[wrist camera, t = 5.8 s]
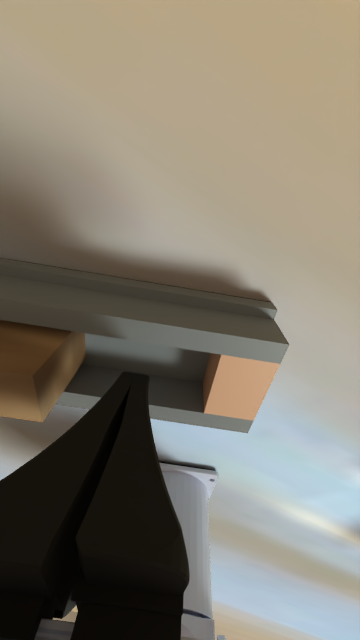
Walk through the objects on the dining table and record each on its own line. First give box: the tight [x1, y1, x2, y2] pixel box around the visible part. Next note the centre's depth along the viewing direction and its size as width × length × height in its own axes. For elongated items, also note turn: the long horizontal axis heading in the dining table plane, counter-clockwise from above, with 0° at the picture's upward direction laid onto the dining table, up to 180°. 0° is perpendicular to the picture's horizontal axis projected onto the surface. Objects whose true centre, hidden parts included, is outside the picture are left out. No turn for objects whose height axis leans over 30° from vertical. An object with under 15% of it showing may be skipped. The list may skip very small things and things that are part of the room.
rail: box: [0, 258, 289, 433], centre depth 14 cm, size 8×22×4 cm, turn 81°
